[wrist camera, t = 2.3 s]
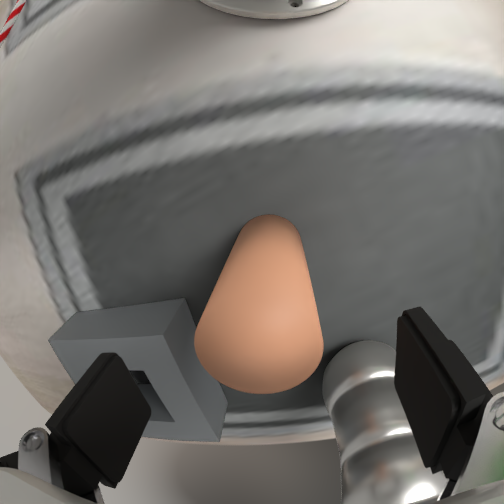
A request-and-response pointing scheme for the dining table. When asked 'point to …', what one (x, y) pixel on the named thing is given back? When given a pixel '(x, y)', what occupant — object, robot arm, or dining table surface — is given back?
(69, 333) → the socket block
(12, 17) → the candy cane
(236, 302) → the peg
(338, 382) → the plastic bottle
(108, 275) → the dining table surface
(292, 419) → the dining table surface
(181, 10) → the dining table surface
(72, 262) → the dining table surface
